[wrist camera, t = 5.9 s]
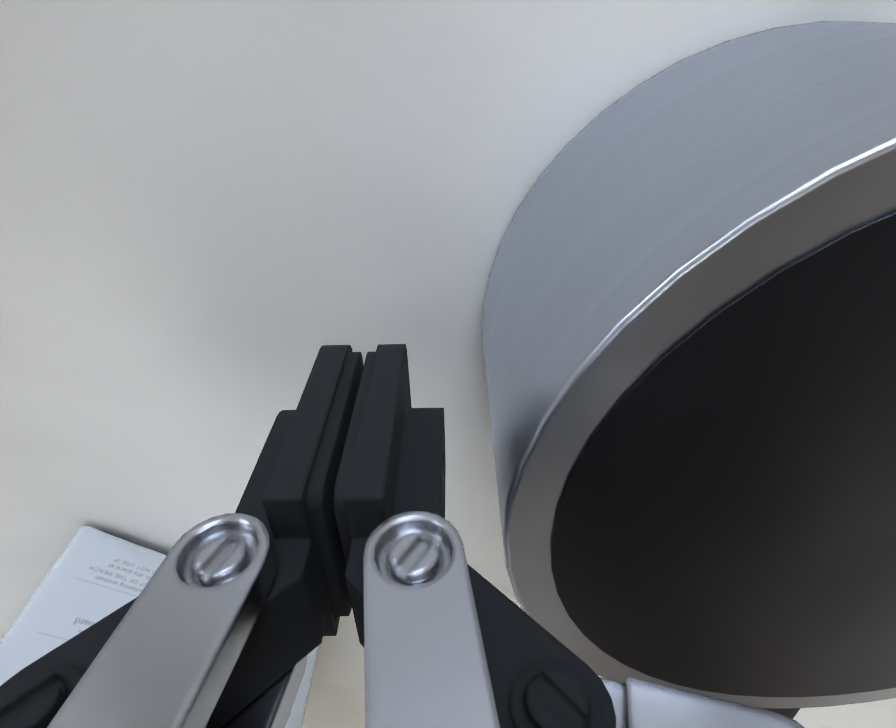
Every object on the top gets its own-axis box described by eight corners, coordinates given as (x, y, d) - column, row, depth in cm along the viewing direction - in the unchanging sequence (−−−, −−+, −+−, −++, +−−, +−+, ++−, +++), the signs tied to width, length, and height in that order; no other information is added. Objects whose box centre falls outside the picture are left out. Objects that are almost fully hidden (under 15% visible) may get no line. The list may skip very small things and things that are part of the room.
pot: (470, -106, 8) (507, -266, 3) (1272, -165, 8) (2685, -448, 3) (486, 540, 17) (502, 758, 12) (859, 526, 17) (1031, 745, 12)
